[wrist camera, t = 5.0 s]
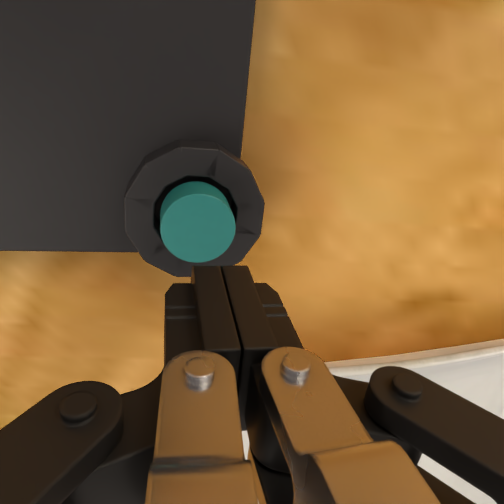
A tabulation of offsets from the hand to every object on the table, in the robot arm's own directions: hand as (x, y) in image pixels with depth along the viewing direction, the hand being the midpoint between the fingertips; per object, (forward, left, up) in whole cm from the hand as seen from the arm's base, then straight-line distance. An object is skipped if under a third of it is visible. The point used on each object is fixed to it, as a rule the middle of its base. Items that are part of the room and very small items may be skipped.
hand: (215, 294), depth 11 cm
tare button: (0, 0, -7) cm, 7 cm away
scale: (-4, -4, -10) cm, 11 cm away
